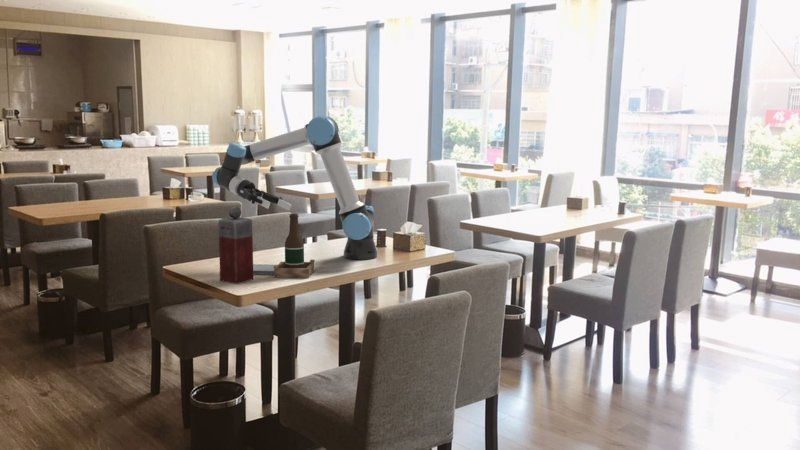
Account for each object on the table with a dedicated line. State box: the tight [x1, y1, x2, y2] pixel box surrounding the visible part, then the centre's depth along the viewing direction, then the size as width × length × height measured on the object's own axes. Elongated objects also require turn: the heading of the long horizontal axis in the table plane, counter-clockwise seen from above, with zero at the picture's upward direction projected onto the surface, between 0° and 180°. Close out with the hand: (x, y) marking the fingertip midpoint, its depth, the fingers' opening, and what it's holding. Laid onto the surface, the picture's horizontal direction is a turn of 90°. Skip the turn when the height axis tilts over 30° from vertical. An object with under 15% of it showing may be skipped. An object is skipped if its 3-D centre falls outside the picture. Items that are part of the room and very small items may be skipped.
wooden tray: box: [273, 259, 315, 279], centre depth 270 cm, size 14×14×4 cm
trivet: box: [253, 263, 275, 276], centre depth 275 cm, size 12×12×2 cm
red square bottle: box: [218, 206, 254, 285], centre depth 258 cm, size 9×11×28 cm
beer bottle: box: [284, 213, 305, 268], centre depth 269 cm, size 8×8×24 cm
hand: (279, 206), depth 276 cm, fingers open, 13 cm apart
